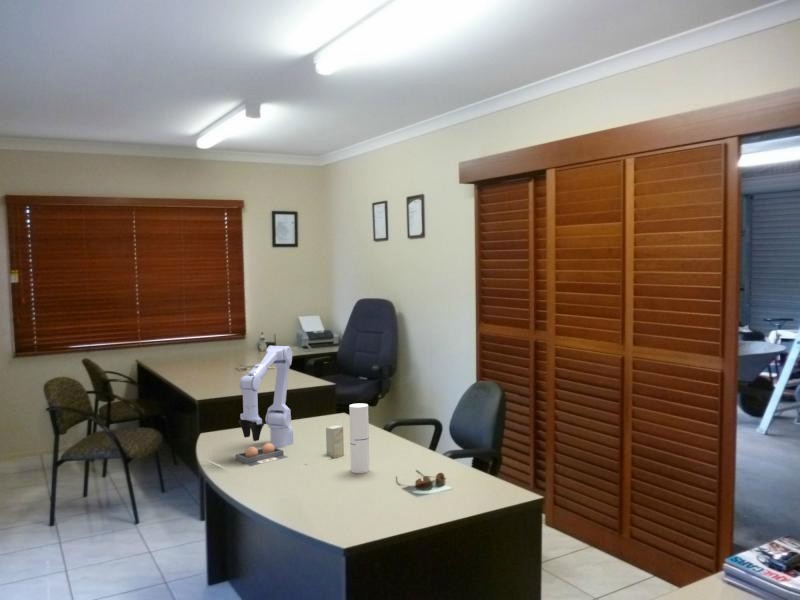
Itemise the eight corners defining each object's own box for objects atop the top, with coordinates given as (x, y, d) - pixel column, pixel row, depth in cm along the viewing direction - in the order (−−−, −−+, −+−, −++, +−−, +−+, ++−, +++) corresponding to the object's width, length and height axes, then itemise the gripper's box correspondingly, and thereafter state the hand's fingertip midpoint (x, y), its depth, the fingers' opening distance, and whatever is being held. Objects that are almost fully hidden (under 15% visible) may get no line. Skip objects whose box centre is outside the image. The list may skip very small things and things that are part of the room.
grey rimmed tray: (272, 452, 269) (272, 445, 269) (288, 459, 259) (288, 452, 259) (235, 461, 258) (234, 454, 258) (250, 468, 248) (250, 461, 248)
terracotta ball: (254, 456, 261) (254, 444, 260) (260, 459, 257) (260, 446, 257) (243, 459, 257) (242, 446, 257) (249, 461, 254) (248, 449, 253)
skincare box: (334, 458, 259) (333, 429, 258) (326, 457, 262) (325, 427, 261) (344, 455, 264) (343, 425, 263) (336, 453, 267) (335, 424, 266)
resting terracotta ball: (271, 452, 266) (270, 440, 265) (277, 455, 262) (276, 443, 262) (260, 455, 262) (259, 443, 262) (266, 457, 259) (265, 445, 258)
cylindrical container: (366, 473, 239) (365, 407, 238) (348, 472, 241) (347, 407, 240) (371, 467, 246) (370, 403, 245) (353, 466, 248) (352, 403, 247)
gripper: (233, 404, 259) (234, 437, 260) (250, 409, 248) (251, 444, 249) (248, 401, 264) (249, 434, 264) (266, 406, 253) (267, 440, 253)
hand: (251, 438), depth 257 cm, fingers open, 7 cm apart
